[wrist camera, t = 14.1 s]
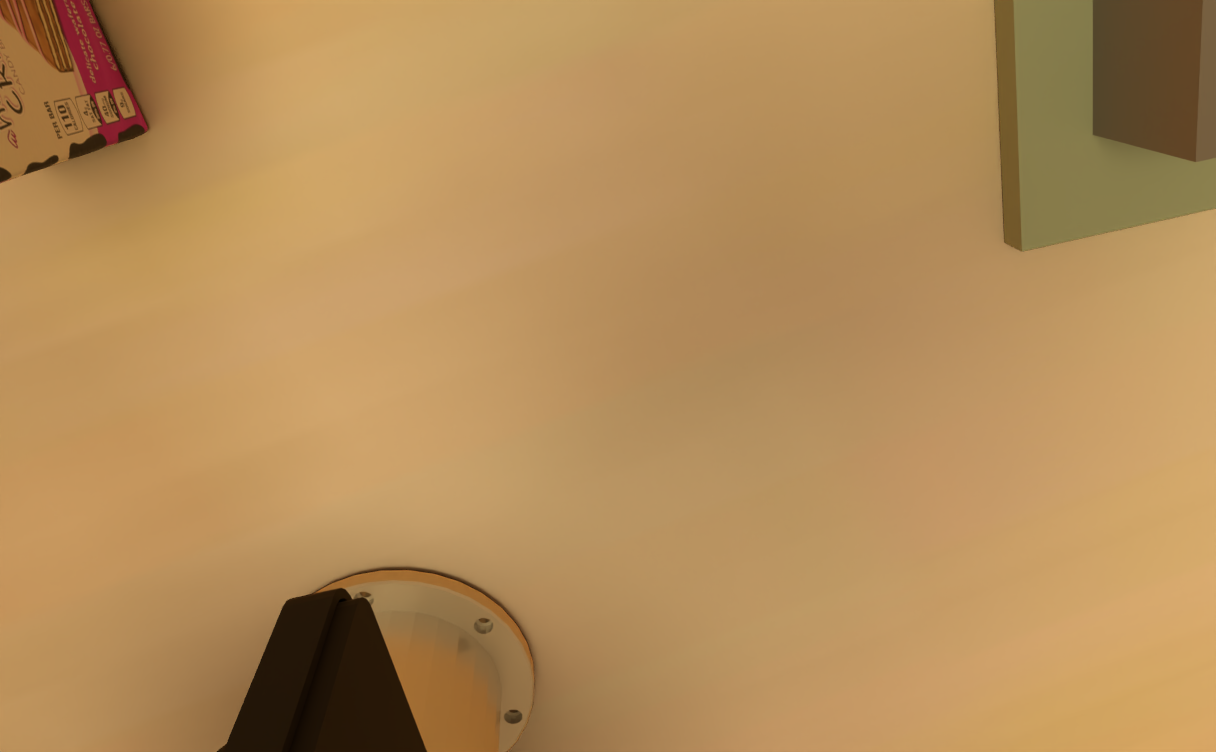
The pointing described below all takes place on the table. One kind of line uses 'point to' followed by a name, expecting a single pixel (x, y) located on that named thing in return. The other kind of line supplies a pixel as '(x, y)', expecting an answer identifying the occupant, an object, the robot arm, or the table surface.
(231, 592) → the table surface
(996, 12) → the pin board
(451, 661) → the robot arm
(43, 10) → the candy bar box
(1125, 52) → the plug housing
